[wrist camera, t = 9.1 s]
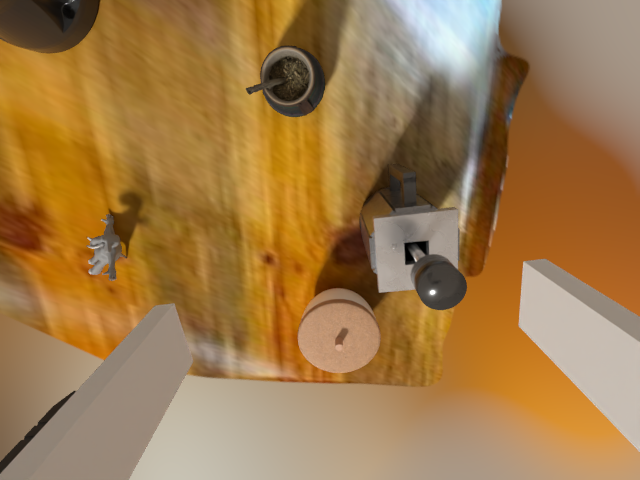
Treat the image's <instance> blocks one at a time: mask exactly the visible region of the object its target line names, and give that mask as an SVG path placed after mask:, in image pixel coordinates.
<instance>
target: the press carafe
mask: <svg viewBox="0 0 640 480" xmlns="http://www.w3.org/2000/svg"><path fill="white" fill-rule="evenodd" d="M388 175H389V187H386V188H383V189H380V190H378V191H377V192H375V193H374V194H372V195H371V196H370V197H369V198H368V199H367V201H366V202H365V203H364V205H363V207H362V210H361V213H360V219H359V220H360V228H361V232H362V239H363V242H364V246H365V249H366V252H367V256H368V259H369V262H370V266H371V269H372V270H373V272H374V273H376V274H377V285H378V291H379V293H381V292H392V291H403V290H413V289H415V287H414V285H413V284H412V281H411V277H410V275H411V270H412V267H413V265H414V264H415V263H416V260H415V259H414V257H413V256H412V254H411V253H410V251H409V250H408V248H407V247H406V245H405V246H404V243H408V242H415V243H416V244H417V245H418V247H419V248H420V249H421V251H422V252H423V253H424V254H425V256H426V255H431V254H438V255H441V256H444V257H446V258H447V259H448V260H449V261H450V262H451V263H452V264H453V265H454V266H455V267H456V268H457V269H458V260H459V228H458V209H457V208H455V207H450V208H441V209H437V208H436V207H435V206H433V205H432V204H431V203H429V202H428V201H426V200H425V199H424V198H422V197H421V196H419V195H418V194H417V193H416V172H415V171H413V170H410V169H408V168H406V167H404V166H402V165H400V164H389V165H388ZM400 181H401V182H402V187H400Z"/></svg>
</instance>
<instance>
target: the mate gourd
mask: <svg viewBox="0 0 640 480" xmlns="http://www.w3.org/2000/svg"><path fill="white" fill-rule="evenodd" d="M260 78H261V84H258V85H254V87H249V88H246V90H247V92H248V94H252V93H253V92H257V91H259V90H262V89H263V94H264V96H265V98H266V100H267V102H268V103H269V104H270V106H271V107H272V108H273V109H274V110H276V111H277V112H279V113H280V114H283V115H285V116H289V117H300V116H304V115H307V114H308V113H311V112H312V111H314V109H315V108H316V107H317V105H318V104H319V103H320V101H321V99H322V97H323V94H324V90H325V78H324V73H323V70H322V68H321V66H320V64H319V62H318V61H317V59H316V58H315V57H314V56H313V55H312V54H310V53H309V52H307V51H305V50H303V49H301V48H297V47H296V46H281V47H278V48H276V49H274V50H273V51H272V52H270V53H269V54H268V56H267V57H266V58H265V60H264V62H263V64H262V67H261V73H260Z"/></svg>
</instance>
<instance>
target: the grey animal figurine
mask: <svg viewBox="0 0 640 480" xmlns="http://www.w3.org/2000/svg"><path fill="white" fill-rule="evenodd" d="M106 216H107V220H104V219H101V220H102V221H104V222H105V223H106V224H107V225H106V229H105V231H104V235H102V236H98V237H95V238H93V239H92V238H89V237H87V238H88V239H89V240H90V241H91V242H90V246H88V245H87V247H89V248H93V249H95V250H94V254H95V256H93V257H92V258H91V259H89V261H88V262H89V264H92V265H94V267H93V268H91V269H89V273H90V274H93V275H96V274H100V273H101V271H102V269H103V267H104V266H105V265H106V264H108V263H109V269H108V271H107V272H105V273H103V275H105V274H109V280H111V281H113V280H115V279H116V270H115V261H116V260H117V259H118V258H120V256H122V257H125V258H127V257H126V256H124V255H123V254H122V253H121V252H122V246H121V244H120V238H119V236H118V235H116V234H115V233H114V228H113V224H114V219H113V216H112V215H110V214H107V215H106Z"/></svg>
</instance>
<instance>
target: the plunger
mask: <svg viewBox="0 0 640 480" xmlns="http://www.w3.org/2000/svg"><path fill="white" fill-rule="evenodd" d="M405 245H406V247H407V248H408V250H409V251H410V253H411V254H412V256H413V257H414V259H415V260H416V263H415V264H414V265H413V267H412V270H411V275H410V277H411V281H412V284H413V285H414V287H415V289H416V291H417V293H418V295H419V297H420V298H421V300H422V302H423V303H424V304H425V305H426V306H428V307H430V308H432V309H436V310H445V309H449V308H452V307H454V306H455V305H457V304H458V303H459V302H460V301H461V300H462V299H463V298H464V296H465V293H466V289H467V285H466V280H465V278H464V276H463V275H462V274H461V273H460V272H459V271H458V269H457V268H456V267H455V266H454V265H453V264H452V263H451V262H450V261H449V260H448V259H447V258H446V257H444V256H441V255H438V254H431V255H426V256H425V254H424V253H423V252H422V251H421V249H420V248H419V247H418V245H417V244H416V243H415V242H408V243H404V246H405Z"/></svg>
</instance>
